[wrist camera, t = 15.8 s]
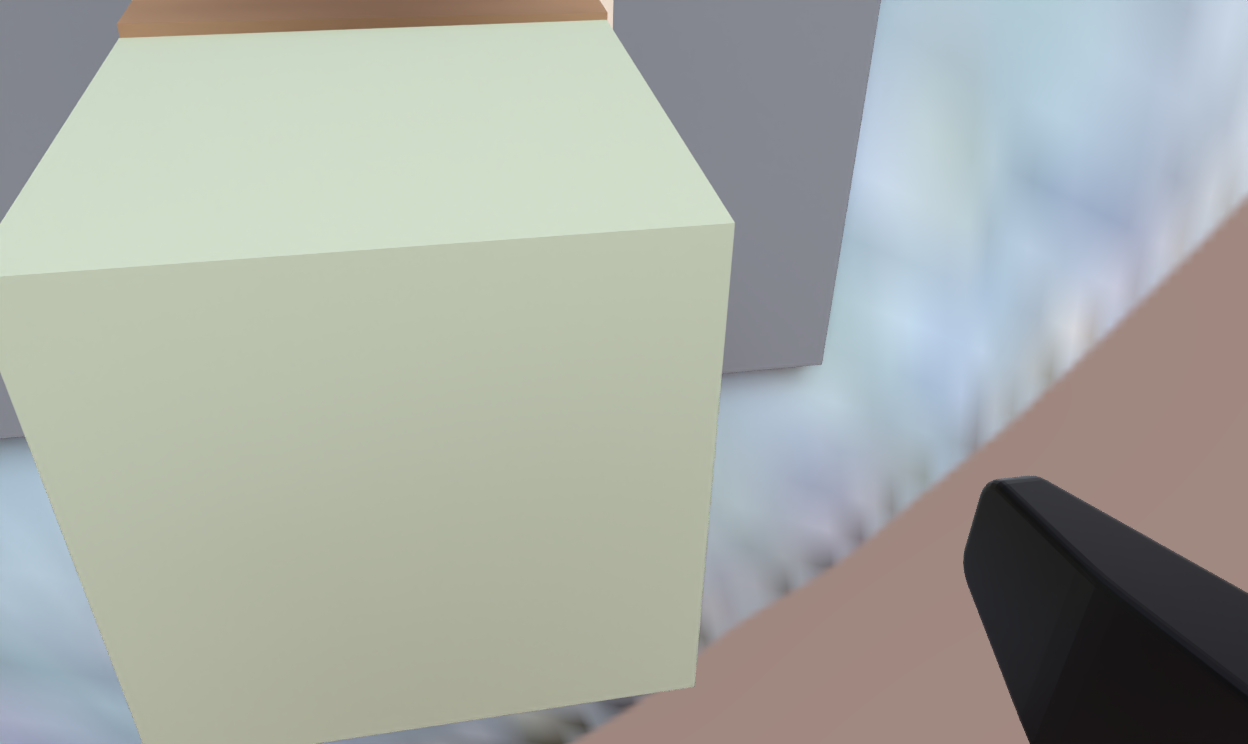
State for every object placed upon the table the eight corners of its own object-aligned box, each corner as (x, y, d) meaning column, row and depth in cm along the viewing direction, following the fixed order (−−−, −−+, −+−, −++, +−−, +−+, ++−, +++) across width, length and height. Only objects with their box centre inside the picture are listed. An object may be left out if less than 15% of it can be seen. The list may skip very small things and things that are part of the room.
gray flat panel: (-273, 436, 18) (-299, 469, 18) (-904, -666, 11) (-997, -688, 10) (808, 343, 22) (823, 367, 21) (941, -534, 14) (973, -544, 13)
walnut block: (248, 241, 17) (210, 423, 13) (187, -82, 15) (116, 23, 11) (548, 224, 18) (598, 388, 14) (545, -83, 15) (607, 12, 11)
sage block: (218, 431, 13) (151, 767, 9) (119, 38, 11) (-36, 279, 7) (602, 392, 14) (694, 686, 10) (606, 19, 11) (734, 221, 7)
